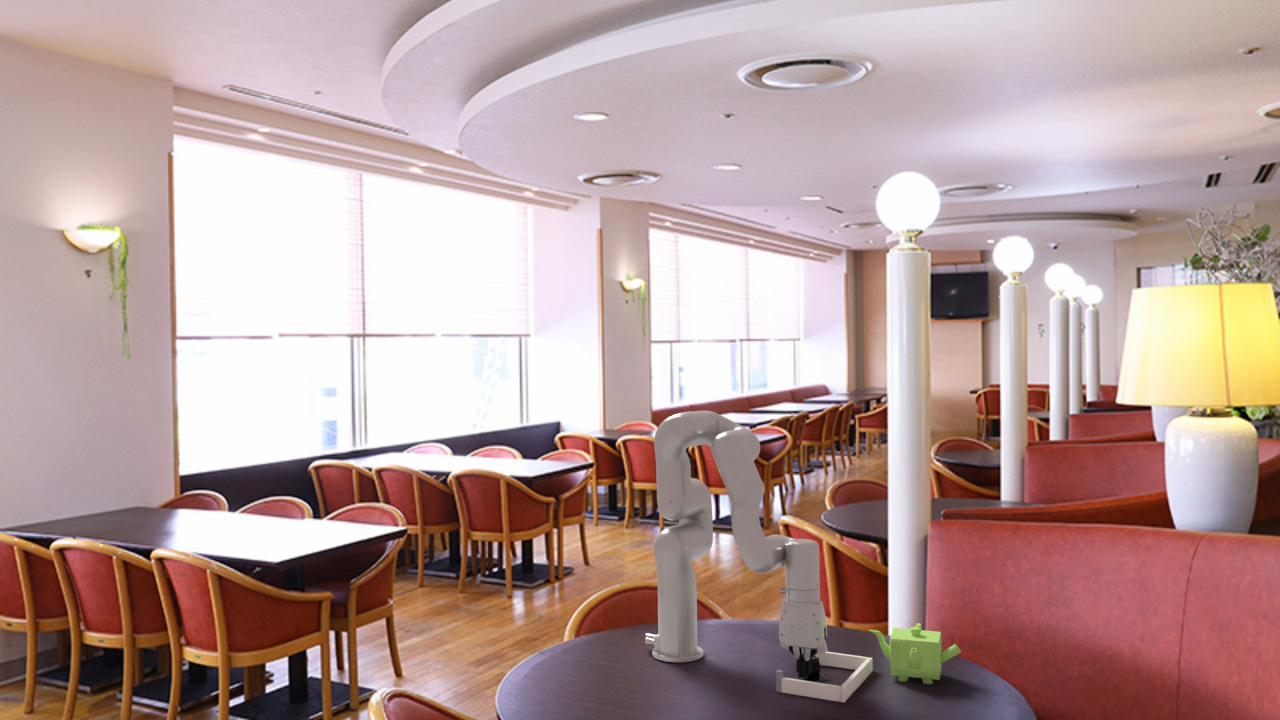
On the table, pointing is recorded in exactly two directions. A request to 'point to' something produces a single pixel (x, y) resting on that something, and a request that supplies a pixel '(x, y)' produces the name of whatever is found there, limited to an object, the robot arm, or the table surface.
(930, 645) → the kettle
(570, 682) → the table surface
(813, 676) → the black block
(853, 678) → the bay
